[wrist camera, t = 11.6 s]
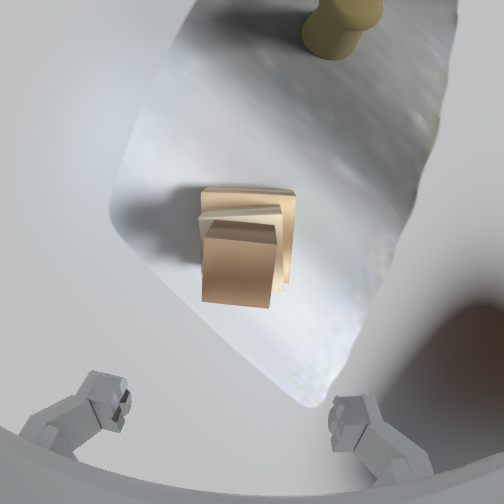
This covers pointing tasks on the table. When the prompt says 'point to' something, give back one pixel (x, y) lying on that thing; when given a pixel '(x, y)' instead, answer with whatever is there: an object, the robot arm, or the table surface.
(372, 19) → the cork
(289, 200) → the tower base
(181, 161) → the table surface
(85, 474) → the robot arm
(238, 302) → the walnut cube
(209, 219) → the tower mid
